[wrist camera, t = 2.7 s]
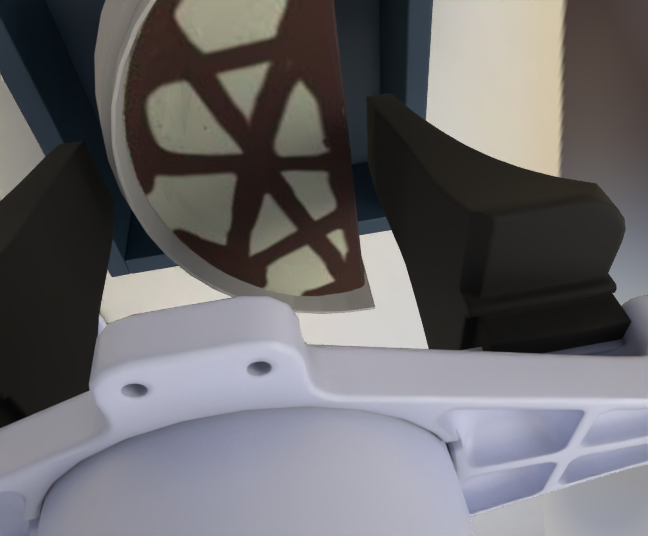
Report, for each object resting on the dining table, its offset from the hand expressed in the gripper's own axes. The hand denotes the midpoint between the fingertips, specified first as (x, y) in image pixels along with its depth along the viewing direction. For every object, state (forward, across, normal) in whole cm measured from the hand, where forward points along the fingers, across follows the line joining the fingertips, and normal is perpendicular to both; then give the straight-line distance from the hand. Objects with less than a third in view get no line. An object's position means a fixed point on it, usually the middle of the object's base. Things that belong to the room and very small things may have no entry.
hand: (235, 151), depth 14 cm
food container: (+8, 0, 0) cm, 9 cm away
